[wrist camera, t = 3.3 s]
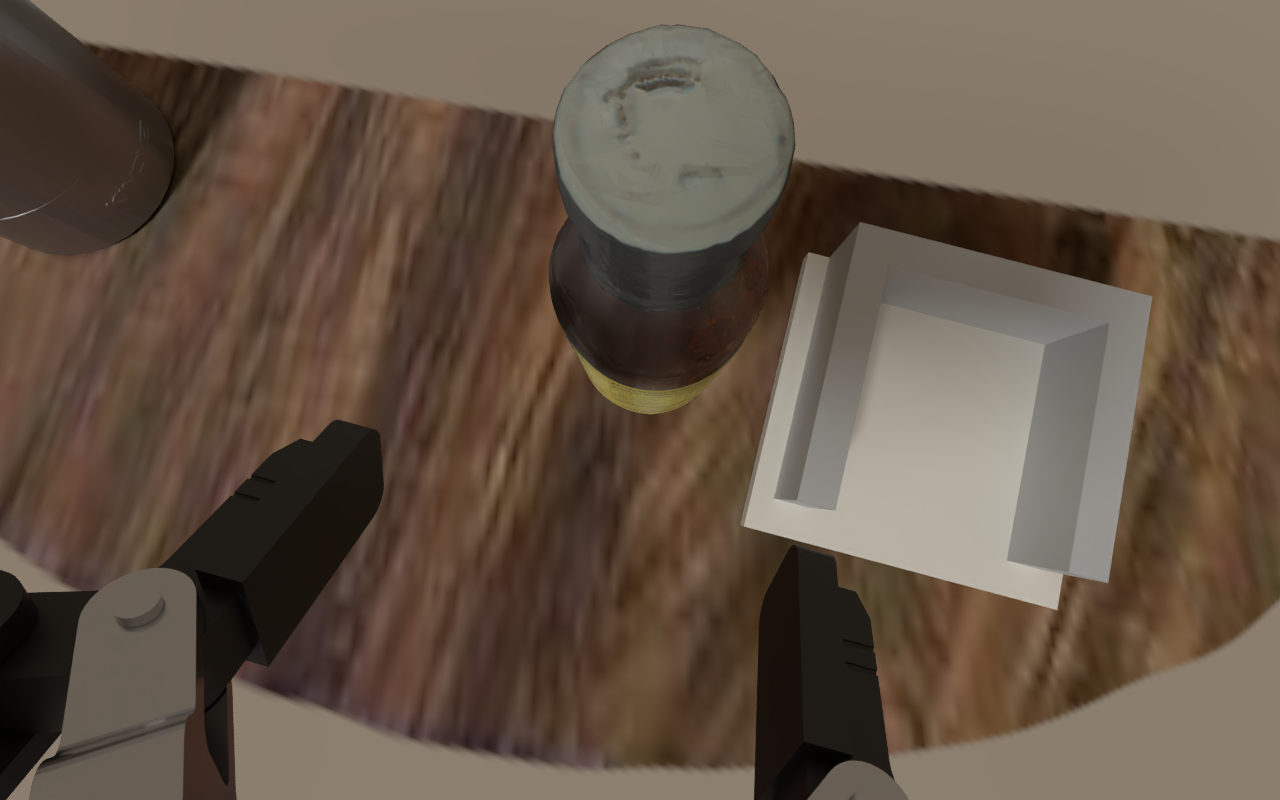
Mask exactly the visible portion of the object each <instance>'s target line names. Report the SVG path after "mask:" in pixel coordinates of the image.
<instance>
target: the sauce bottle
mask: <svg viewBox="0 0 1280 800" xmlns="http://www.w3.org/2000/svg"><path fill="white" fill-rule="evenodd" d="M794 149H795V133H794V122H793V118H792V114H791V110H790V107H789V104H788V101H787V99H786V96H785V95H784V94H783V92H782V91H781V90H780V88H779V86H778V84H777V82H776V80H775V78H774V77H773V75H772V74H771V73H770V72H769V70H768V69H767V68H766V67H765V65H764V64H763V63H762V62H761V61H760V59H759V58H758V56H757V55H755V54H754V53H752V52H751V51H750V50H748V49H747V48H745V47H744V46H742V45H741V44H740V43H737V42H735V41H733V40H731V39H729V38H727V37H725V36H723V35H721V34H718V33H716V32H714V31H712V30H710V29H706V28H699V27H692V26H685V25H672V26H669V25H659V26H655V27H651V28H647V29H645V30H642V31H638V32H635V33H631V34H629V35H627V36H625V37H623V38H621V39H619V40H617V41H615V42H613V43H611V44H609V45H607V46H606V47H604V48H603V49H602V50H600V51H599V52H598V53H596V54H595V55H594V56H592V57H591V58H590V59H589V60H587V61H586V62H585V63H584V64H583V65H582V66H581V67H580V69H579V70H578V72H577V73H576V75H575V76H574V78H573V79H572V80H571V82H570V83H569V84H568V85H567V86H566V87H565V89H564V91H563V94H562V96H561V99H560V102H559V104H558V107H557V110H556V115H555V120H554V132H553V152H554V160H555V168H556V173H557V183H558V187H559V191H560V194H561V197H562V201H563V204H564V207H565V210H566V212H567V214H568V216H569V217H568V218H567V220H566V221H565V223H564V225H563V226H562V228H561V229H560V231H559V233H558V235H557V238H556V240H555V243H554V246H553V250H552V253H551V258H550V266H549V284H550V293H551V299H552V303H553V307H554V310H555V312H556V315H557V318H558V321H559V323H560V325H561V327H562V329H563V331H564V333H565V335H566V337H567V339H568V340H569V342H570V344H571V346H572V348H573V349H574V351H575V353H576V355H577V357H578V359H579V360H580V362H581V364H582V366H583V368H584V369H585V371H586V373H587V375H588V376H589V378H590V380H591V382H592V383H593V384H594V386H595V387H596V389H597V390H598V391H599V392H600V393H601V394H602V395H603V396H604V397H606V398H607V399H608V400H610V401H611V402H613V403H615V404H616V405H618V406H620V407H622V408H625V409H627V410H630V411H633V412H637V413H644V414H657V413H663V412H668V411H671V410H674V409H677V408H679V407H681V406H683V405H685V404H687V403H688V402H690V401H691V400H693V399H694V398H695V397H696V396H698V395H699V394H700V393H701V392H702V391H703V390H704V388H705V387H706V386H707V385H708V384H709V383H710V382H711V381H712V380H713V379H714V377H715V376H716V375H717V374H718V373H719V372H720V371H721V370H722V368H723V367H724V366H725V365H726V364H727V363H728V362H729V361H730V359H731V358H732V357H733V356H734V354H735V353H736V352H737V351H738V349H739V348H740V347H741V345H742V343H743V341H744V340H745V338H746V336H747V334H748V333H749V332H750V330H751V329H752V327H753V325H754V324H755V322H756V320H757V318H758V316H759V312H760V310H761V309H762V306H763V302H764V298H765V295H766V293H767V291H768V285H767V283H768V278H769V275H768V267H769V263H768V249H767V246H766V241H765V237H764V232H763V231H764V230H765V228H766V226H767V224H768V222H769V220H770V219H771V217H772V215H773V214H774V212H775V209H776V207H777V205H778V203H779V201H780V198H781V196H782V194H783V191H784V189H785V186H786V184H787V181H788V178H789V175H790V170H791V165H792V160H793V154H794Z"/></svg>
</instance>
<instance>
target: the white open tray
mask: <svg viewBox="0 0 1280 800" xmlns="http://www.w3.org/2000/svg"><path fill="white" fill-rule="evenodd" d="M1151 302H1152V296H1149V295H1145V294H1141V293H1137V292H1133V291H1129V290H1125V289H1121V288H1117V287H1113V286H1109V285H1105V284H1102V283H1098V282H1094V281H1090V280H1086V279H1082V278H1078V277H1074V276H1070V275H1066V274H1062V273H1058V272H1054V271H1051V270H1047V269H1043V268H1039V267H1035V266H1031V265H1027V264H1023V263H1019V262H1015V261H1011V260H1007V259H1003V258H999V257H996V256H992V255H988V254H984V253H980V252H976V251H972V250H968V249H964V248H960V247H956V246H952V245H948V244H945V243H941V242H937V241H933V240H929V239H925V238H921V237H917V236H913V235H909V234H905V233H901V232H897V231H893V230H890V229H886V228H882V227H878V226H874V225H870V224H866V223H862V222H860V223H859V224H858V225H857V226H856V227H855V228H854V230H853V231H852V232H851V233H850V234H849V235H848V237H847V238H846V239H845V240H844V241H843V242H842V244H841V245H840V246H839V247H838V248H837V249H836V251H835V252H834V253H833V254H832V255H831V257H830V258H829V257H825V256H821V255H817V254H813V253H810V252H809V253H808V254H807V255H806V257H805V258H804V259H803V262H802V266H801V270H800V275H799V279H798V283H797V287H796V291H795V296H794V300H793V304H792V308H791V312H790V317H789V321H788V325H787V329H786V334H785V338H784V342H783V346H782V350H781V355H780V359H779V363H778V367H777V371H776V376H775V380H774V384H773V388H772V392H771V397H770V401H769V405H768V409H767V414H766V418H765V422H764V426H763V430H762V435H761V439H760V443H759V447H758V451H757V456H756V460H755V464H754V468H753V472H752V477H751V481H750V485H749V489H748V493H747V498H746V502H745V506H744V510H743V515H742V519H741V523H740V525H741V526H745V527H748V528H752V529H756V530H760V531H763V532H767V533H771V534H775V535H778V536H782V537H786V538H790V539H793V540H797V541H801V542H805V543H808V544H812V545H816V546H820V547H823V548H827V549H831V550H834V551H838V552H842V553H846V554H849V555H853V556H857V557H861V558H864V559H868V560H872V561H876V562H879V563H883V564H887V565H891V566H894V567H898V568H902V569H906V570H909V571H913V572H917V573H921V574H924V575H928V576H932V577H936V578H939V579H943V580H947V581H951V582H954V583H958V584H962V585H965V586H969V587H973V588H977V589H980V590H984V591H988V592H992V593H995V594H999V595H1003V596H1007V597H1010V598H1014V599H1018V600H1022V601H1025V602H1029V603H1033V604H1037V605H1040V606H1044V607H1048V608H1052V609H1055V610H1057V607H1058V601H1059V595H1060V589H1061V583H1062V577H1063V574H1065V575H1070V576H1075V577H1080V578H1086V579H1091V580H1096V581H1101V582H1106V583H1108V580H1109V574H1110V567H1111V561H1112V554H1113V548H1114V541H1115V535H1116V528H1117V522H1118V515H1119V509H1120V503H1121V496H1122V490H1123V483H1124V477H1125V470H1126V464H1127V457H1128V451H1129V444H1130V438H1131V431H1132V425H1133V419H1134V412H1135V406H1136V399H1137V393H1138V386H1139V380H1140V373H1141V367H1142V360H1143V354H1144V347H1145V341H1146V335H1147V328H1148V322H1149V315H1150V309H1151Z"/></svg>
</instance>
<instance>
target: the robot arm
mask: <svg viewBox="0 0 1280 800" xmlns="http://www.w3.org/2000/svg"><path fill="white" fill-rule="evenodd" d="M173 169H174V145H173V140H172V134H171V131H170V129H169V126H168V124H167V122H166V120H165V117H164V115H163V114H162V113H161V112H160V110H159V109H158V108H157V106H156V105H155V104H154V103H153V101H152V100H150V99H149V98H148V97H147V96H145V95H144V94H143V93H142V92H141V91H139V90H138V89H137V88H136V87H134V86H133V85H132V84H131V83H130V82H128V81H127V80H126V79H125V78H123V77H122V76H121V75H120V74H119V73H117V72H116V71H115V70H114V69H112V68H111V67H110V66H109V65H108V64H106V63H105V62H104V61H103V60H101V59H100V58H99V57H98V56H97V55H95V54H94V53H93V52H92V51H90V50H89V49H88V48H87V47H86V46H84V45H83V44H82V43H81V42H80V41H79V40H78V39H76V38H75V37H74V36H73V35H72V34H70V33H69V32H68V31H67V30H65V29H64V28H63V27H61V26H60V25H59V24H58V23H57V22H55V21H54V20H53V19H52V18H51V17H49V16H48V15H47V14H46V13H44V12H43V11H42V10H41V9H39V8H38V7H37V6H36V5H35V4H33V3H32V2H31V1H30V0H0V236H1V237H3V238H6V239H8V240H11V241H13V242H16V243H18V244H21V245H23V246H26V247H28V248H31V249H34V250H38V251H41V252H45V253H49V254H60V255H75V254H82V253H89V252H94V251H97V250H99V249H102V248H105V247H108V246H111V245H113V244H115V243H117V242H118V241H120V240H122V239H124V238H126V237H127V236H129V235H131V234H132V233H133V232H134V231H135V230H137V229H138V228H139V227H140V226H141V225H142V224H144V223H145V222H146V221H147V220H148V218H149V217H150V216H151V215H152V213H153V212H154V211H155V210H156V209H157V207H158V206H159V205H160V203H161V201H162V199H163V197H164V195H165V193H166V191H167V189H168V187H169V183H170V180H171V176H172V172H173ZM383 489H384V481H383V468H382V454H381V441H380V434H379V432H378V431H377V430H374V429H371V428H367V427H363V426H360V425H356V424H352V423H349V422H345V421H341V420H335V421H333V422H332V423H330V424H329V425H328V426H327V427H326V428H325V429H324V430H323V432H322V433H321V434H320V435H319V436H318V437H317V438H316V439H315V440H314V441H313V442H311V441H307V440H303V439H299V440H297V441H295V442H293V443H291V444H289V445H288V446H286V447H284V448H282V449H280V450H278V451H276V452H274V453H273V454H271V455H270V456H269V457H268V458H267V459H266V460H265V461H264V462H263V463H262V464H261V465H260V467H259V468H258V469H257V470H256V471H255V472H254V473H253V474H252V476H251V478H250V479H247V480H246V481H245V482H244V483H243V484H242V485H241V486H240V487H239V488H238V489H237V490H236V491H235V494H234V496H230V497H229V498H228V499H227V500H226V501H225V502H224V503H223V504H222V505H221V506H220V507H219V508H218V509H217V510H216V511H215V512H214V513H213V514H212V515H211V516H210V517H209V518H208V519H207V520H206V521H205V522H204V523H203V524H202V526H201V527H200V528H199V529H198V530H197V531H196V532H195V533H194V534H193V535H192V536H191V537H190V538H189V539H188V540H187V541H186V542H185V543H184V544H183V545H182V546H181V547H180V548H179V549H178V550H177V551H176V552H175V553H174V554H173V555H172V556H171V557H170V558H169V559H168V560H167V561H166V562H165V563H163V564H162V565H161V566H160V567H158V568H151V569H145V570H140V571H136V572H133V573H130V574H127V575H125V576H122V577H120V578H118V579H116V580H114V581H113V582H111V583H109V584H108V585H106V586H105V587H103V588H102V589H101V590H98V591H76V592H39V593H38V592H37V593H27V592H26V590H25V589H24V587H23V586H22V584H21V583H20V581H19V580H18V579H17V578H16V577H15V576H14V575H12V574H10V573H8V572H5V571H2V570H0V800H6V799H7V798H8V797H9V796H10V794H11V793H12V792H13V791H14V790H15V788H16V787H17V786H18V785H19V784H20V782H21V781H22V780H23V779H24V778H25V776H26V775H27V774H28V773H29V771H30V770H31V769H32V768H33V767H34V765H35V764H36V763H37V762H38V760H39V759H40V758H41V757H42V756H43V754H44V753H45V752H46V751H47V750H48V749H49V747H50V746H51V745H52V744H53V742H54V741H55V740H56V739H57V738H58V736H59V735H60V734H61V733H62V734H61V740H60V745H59V749H58V751H57V753H56V755H55V756H54V757H51V758H48V759H46V760H44V761H43V762H42V763H41V764H40V766H39V767H38V769H37V771H36V773H35V776H34V779H33V782H32V786H31V791H30V797H29V800H237V799H236V785H235V757H234V726H233V696H232V682H231V679H232V678H233V677H234V675H235V674H236V673H237V671H238V670H239V668H240V667H241V666H242V664H243V663H244V662H245V660H246V661H250V662H253V663H257V664H260V665H264V666H267V667H269V665H270V664H271V662H272V661H273V660H274V658H275V657H276V655H277V654H278V652H279V651H280V650H281V648H282V647H283V645H284V644H285V642H286V641H287V640H288V638H289V637H290V635H291V634H292V633H293V631H294V630H295V628H296V627H297V625H298V624H299V623H300V621H301V620H302V618H303V617H304V615H305V614H306V613H307V611H308V610H309V608H310V607H311V605H312V604H313V603H314V601H315V600H316V598H317V597H318V595H319V594H320V593H321V591H322V590H323V588H324V587H325V585H326V584H327V583H328V581H329V580H330V578H331V577H332V575H333V574H334V573H335V571H336V570H337V568H338V567H339V565H340V564H341V563H342V561H343V560H344V558H345V557H346V555H347V554H348V553H349V551H350V550H351V548H352V547H353V545H354V544H355V543H356V541H357V540H358V538H359V537H360V535H361V534H362V533H363V531H364V530H365V528H366V527H367V525H368V524H369V523H370V521H371V520H372V518H373V517H374V515H375V513H376V512H377V509H378V507H379V505H380V502H381V499H382V495H383ZM873 648H874V643H873V636H872V628H871V621H870V618H869V616H868V614H867V612H866V610H865V608H864V606H863V604H862V602H861V600H860V599H859V597H858V595H857V593H856V592H855V591H852V590H848V589H844V588H841V587H838V579H837V568H836V561H835V558H834V556H833V555H830V554H826V553H822V552H819V551H815V550H811V549H808V548H804V547H800V546H797V545H792V546H791V547H790V549H789V550H788V552H787V554H786V556H785V558H784V560H783V561H782V563H781V565H780V567H779V569H778V571H777V573H776V575H775V577H774V579H773V580H772V582H771V584H770V586H769V588H768V590H767V592H766V594H765V597H764V600H763V604H762V608H761V613H760V620H759V646H758V681H757V716H756V750H755V787H754V800H908V798H907V796H906V795H905V793H904V792H903V790H902V789H901V788H900V786H899V785H898V784H897V783H896V782H895V780H894V777H893V774H892V772H891V767H890V762H889V755H888V747H887V740H886V733H885V725H884V718H883V710H882V703H881V695H880V688H879V680H878V676H876V671H877V665H876V658H875V653H874V652H873Z"/></svg>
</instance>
